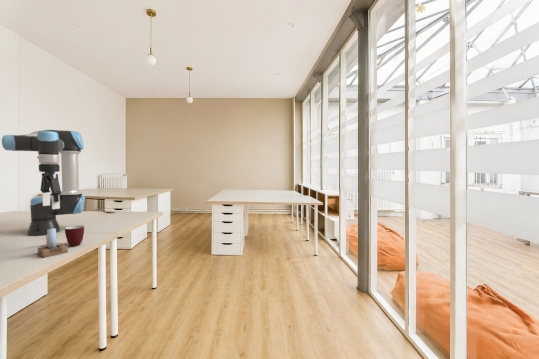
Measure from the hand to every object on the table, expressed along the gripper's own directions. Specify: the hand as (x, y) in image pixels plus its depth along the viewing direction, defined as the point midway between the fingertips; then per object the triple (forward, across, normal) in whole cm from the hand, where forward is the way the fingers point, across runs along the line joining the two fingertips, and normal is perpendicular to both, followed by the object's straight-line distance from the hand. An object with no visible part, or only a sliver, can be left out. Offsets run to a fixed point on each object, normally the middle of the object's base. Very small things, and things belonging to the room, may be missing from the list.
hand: (51, 207), depth 122 cm
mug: (+23, -5, +11) cm, 26 cm away
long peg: (+23, +1, 0) cm, 23 cm away
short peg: (+23, -14, +3) cm, 27 cm away
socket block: (+23, +1, 0) cm, 23 cm away
